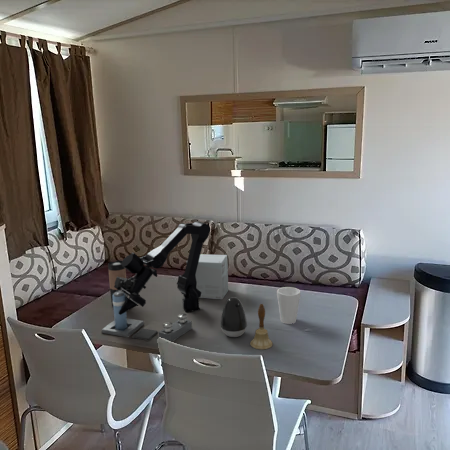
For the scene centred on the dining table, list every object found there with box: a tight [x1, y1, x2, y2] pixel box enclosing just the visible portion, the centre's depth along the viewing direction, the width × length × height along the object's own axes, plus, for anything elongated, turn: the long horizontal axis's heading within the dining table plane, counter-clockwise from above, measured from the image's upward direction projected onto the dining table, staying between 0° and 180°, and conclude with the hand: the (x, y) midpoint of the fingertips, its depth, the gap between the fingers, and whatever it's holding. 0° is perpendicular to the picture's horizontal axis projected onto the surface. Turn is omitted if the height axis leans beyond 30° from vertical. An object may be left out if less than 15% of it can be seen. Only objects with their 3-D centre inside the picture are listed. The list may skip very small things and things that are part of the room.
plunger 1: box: [162, 321, 173, 334], centre depth 173 cm, size 4×4×4 cm
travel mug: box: [107, 260, 128, 307], centre depth 205 cm, size 8×8×20 cm
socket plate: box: [101, 318, 145, 338], centre depth 183 cm, size 12×12×2 cm
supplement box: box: [196, 253, 229, 300], centre depth 217 cm, size 17×13×18 cm
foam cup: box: [276, 286, 301, 325], centre depth 186 cm, size 10×9×13 cm
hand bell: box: [249, 303, 273, 351], centre depth 166 cm, size 8×8×16 cm
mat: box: [132, 327, 159, 341], centre depth 177 cm, size 7×7×1 cm
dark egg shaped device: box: [220, 296, 248, 338], centre depth 175 cm, size 10×10×15 cm
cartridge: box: [112, 292, 128, 331], centre depth 180 cm, size 5×5×16 cm
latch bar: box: [157, 319, 193, 342], centre depth 177 cm, size 14×5×3 cm, turn 148°
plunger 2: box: [177, 313, 188, 324], centre depth 181 cm, size 4×4×4 cm
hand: (116, 312), depth 179 cm, fingers closed on cartridge, 5 cm apart
